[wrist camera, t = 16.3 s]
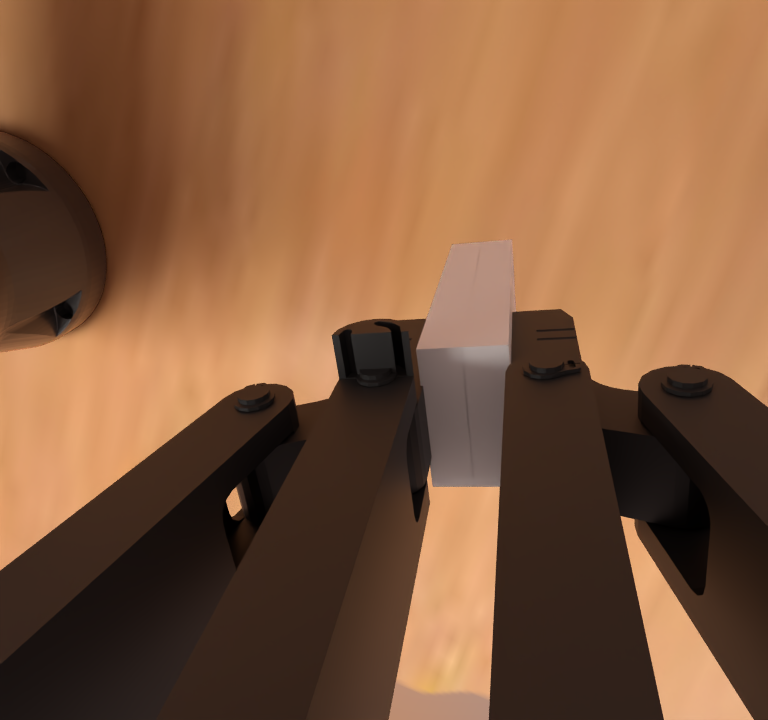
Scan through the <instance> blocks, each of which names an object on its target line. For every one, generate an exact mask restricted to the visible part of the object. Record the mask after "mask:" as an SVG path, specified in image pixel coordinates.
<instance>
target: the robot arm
mask: <svg viewBox="0 0 768 720" xmlns="http://www.w3.org/2000/svg"><path fill="white" fill-rule="evenodd" d="M105 279H106V252H105V246H104V241H103V237H102V233H101V230H100V227H99V224H98V221H97V219H96V217H95V214H94V212H93V210H92V208H91V206H90V204H89V203H88V201H87V199H86V197H85V196H84V194H83V193H82V191H81V190H80V188H79V187H78V186H77V184H76V183H75V182H74V181H73V179H72V178H71V177H70V176H69V175H68V174H67V172H66V171H65V170H64V169H63V168H62V167H61V166H60V165H59V164H58V163H56V162H55V161H54V160H53V159H52V158H51V157H49V156H48V155H47V154H45V153H44V152H43V151H41V150H40V149H38V148H37V147H35V146H34V145H32V144H30V143H28V142H26V141H24V140H22V139H20V138H18V137H16V136H13V135H10V134H7V133H4V132H0V352H6V351H13V350H20V349H27V348H33V347H38V346H41V345H44V344H47V343H50V342H52V341H55V340H57V339H59V338H60V337H62V336H63V335H65V334H67V333H68V332H70V331H71V330H73V329H75V328H76V327H78V326H79V325H80V324H82V323H83V322H84V321H85V320H86V319H87V318H88V317H89V316H90V315H91V314H92V312H93V311H94V309H95V308H96V306H97V304H98V302H99V300H100V298H101V295H102V292H103V289H104V285H105ZM332 339H333V345H334V351H335V356H336V362H337V368H338V373H339V381H338V383H337V384H336V386H335V388H334V390H333V392H332V394H331V396H330V397H329V399H326V400H322V401H318V402H312V403H307V404H302V405H297V406H296V404H295V399H294V394H293V391H292V390H291V389H290V388H288V387H287V386H283V385H279V384H266V383H260V384H257V385H256V386H255V384H253V385H249V386H246V387H245V388H244V389H241V390H239V391H236V392H234V393H232V394H230V395H229V396H227V397H225V398H224V399H222V400H221V401H220V402H218V403H217V404H216V405H215V406H213V407H212V408H211V409H209V410H208V411H207V412H205V413H204V414H203V415H202V416H200V417H199V418H198V419H196V420H195V421H194V422H193V423H191V424H190V425H189V426H187V427H186V428H185V429H183V430H182V431H181V432H180V433H178V434H177V435H176V436H174V437H173V438H172V439H170V440H169V441H168V442H167V443H165V444H164V445H163V446H161V447H160V448H159V449H157V450H156V451H155V452H154V453H152V454H151V455H150V456H148V457H147V458H146V459H145V460H143V461H142V462H141V463H139V464H138V465H137V466H135V467H134V468H133V469H132V470H130V471H129V472H128V473H126V474H125V475H124V476H122V477H121V478H120V479H119V480H117V481H116V482H115V483H113V484H112V485H111V486H109V487H108V488H107V489H106V490H104V491H103V492H102V493H100V494H99V495H98V496H97V497H95V498H94V499H93V500H91V501H90V502H89V503H87V504H86V505H85V506H84V507H82V508H81V509H80V510H78V511H77V512H76V513H74V514H73V515H72V516H71V517H69V518H68V519H67V520H65V521H64V522H63V523H61V524H60V525H59V526H58V527H56V528H55V529H54V530H52V531H51V532H50V533H49V534H47V535H46V536H45V537H43V538H42V539H41V540H39V541H38V542H37V543H36V544H34V545H33V546H32V547H30V548H29V549H28V550H26V551H25V552H24V553H23V554H21V555H20V556H19V557H17V558H16V559H15V560H13V561H12V562H11V563H10V564H8V565H7V566H6V567H4V568H3V569H2V570H1V571H0V720H388V719H389V714H390V708H391V703H392V698H393V693H394V688H395V682H396V677H397V672H398V667H399V662H400V656H401V651H402V646H403V641H404V635H405V630H406V625H407V620H408V615H409V609H410V604H411V599H412V594H413V588H414V583H415V578H416V573H417V568H418V562H419V557H420V552H421V547H422V541H423V536H424V531H425V526H426V520H427V515H428V510H429V505H430V500H429V492H428V484H427V476H428V471H429V467H430V468H431V476H432V484H433V487H500V497H499V518H498V539H497V560H496V581H495V602H494V623H493V644H492V665H491V686H490V707H489V720H664V718H663V714H662V709H661V704H660V699H659V695H658V690H657V685H656V681H655V676H654V671H653V667H652V662H651V657H650V653H649V648H648V643H647V639H646V634H645V629H644V624H643V620H642V615H641V610H640V606H639V601H638V596H637V592H636V587H635V582H634V578H633V573H632V568H631V564H630V559H629V554H628V549H627V545H626V540H625V535H624V531H623V526H622V521H621V517H620V516H623V517H628V518H633V519H635V528H636V532H637V535H638V537H639V538H640V540H641V541H642V543H643V545H644V546H645V548H646V549H647V551H648V553H649V554H650V556H651V557H652V559H653V561H654V562H655V564H656V565H657V567H658V568H659V570H660V572H661V573H662V575H663V576H664V578H665V580H666V581H667V583H668V584H669V586H670V587H671V589H672V591H673V592H674V594H675V595H676V597H677V599H678V600H679V602H680V603H681V605H682V606H683V608H684V610H685V611H686V613H687V614H688V616H689V618H690V619H691V621H692V622H693V624H694V625H695V627H696V629H697V630H698V632H699V633H700V635H701V637H702V638H703V640H704V641H705V643H706V644H707V646H708V648H709V649H710V651H711V652H712V654H713V656H714V657H715V659H716V660H717V662H718V664H719V665H720V667H721V668H722V670H723V671H724V673H725V675H726V676H727V678H728V679H729V681H730V683H731V684H732V686H733V687H734V689H735V690H736V692H737V694H738V695H739V697H740V698H741V700H742V702H743V703H744V705H745V706H746V708H747V709H748V711H749V713H750V714H751V716H752V717H753V719H754V720H768V407H767V406H765V405H764V404H763V403H762V402H760V401H759V400H758V399H756V398H755V397H754V396H753V395H751V394H750V393H749V392H748V391H746V390H745V389H744V388H743V387H741V386H740V385H739V384H738V383H736V382H735V381H734V380H732V379H731V378H729V377H727V376H725V375H724V374H722V373H720V372H717V371H713V370H710V369H706V368H704V367H702V366H695V365H692V367H691V366H690V365H678V366H672V367H664V368H660V369H656V370H652V371H650V372H648V373H647V374H645V375H643V376H642V377H641V379H640V382H639V384H638V391H630V390H623V389H617V388H612V387H608V386H605V385H602V384H599V383H597V382H595V381H593V380H592V379H591V376H590V371H589V368H588V367H587V365H586V364H585V362H583V361H582V360H581V355H580V351H579V346H578V341H577V336H576V331H575V326H574V321H573V317H571V316H570V315H568V314H567V313H565V312H564V311H563V310H561V309H556V310H539V311H521V312H516V302H515V284H514V265H513V246H512V239H511V240H499V241H487V242H474V243H462V244H452V246H451V249H450V252H449V255H448V258H447V260H446V263H445V266H444V269H443V272H442V275H441V278H440V281H439V284H438V287H437V290H436V293H435V296H434V298H433V301H432V304H431V307H430V310H429V313H428V316H427V319H415V320H392V319H372V320H365V321H360V322H356V323H353V324H349V325H347V326H345V327H343V328H340V329H338V330H337V331H336V332H335V333H334V334H333V335H332ZM235 487H236V488H237V491H238V495H239V499H240V503H241V506H242V509H241V510H240V511H239V512H238V513H237V514H236V515H235V516H233V517H231V515H230V514H229V511H228V507H227V504H226V499H227V498H228V496H229V495H230V493H231V492H232V490H233V489H234V488H235Z"/></svg>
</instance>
